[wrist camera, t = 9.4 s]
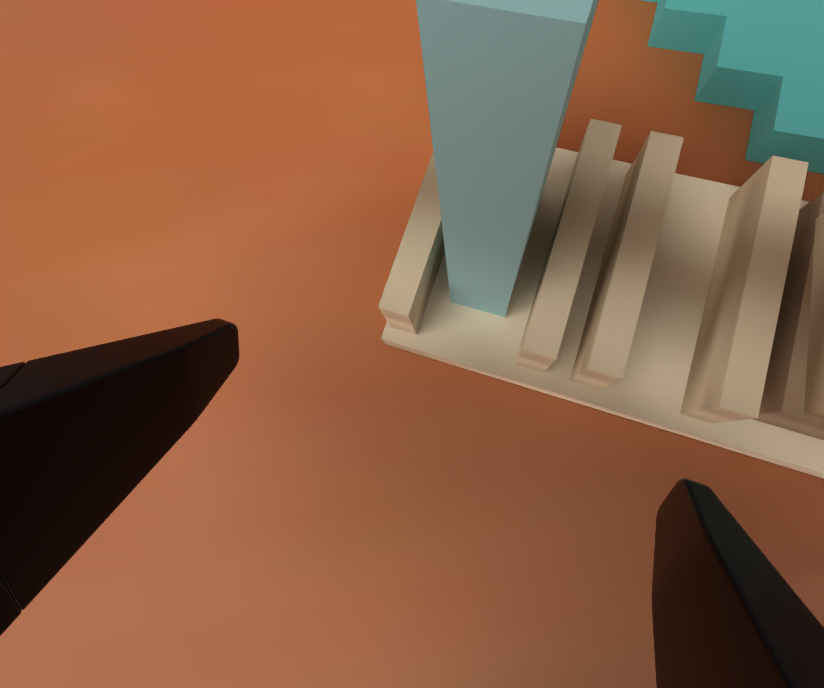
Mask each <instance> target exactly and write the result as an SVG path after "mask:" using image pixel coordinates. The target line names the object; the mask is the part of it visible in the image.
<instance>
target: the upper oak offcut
mask: <svg viewBox="0 0 824 688" xmlns="http://www.w3.org/2000/svg"><path fill="white" fill-rule="evenodd" d="M804 414H806V415H812V416H817V417H822V418H824V213H823V214H822V215H820V216H819V217H817V218H816V222H815V238H814V255H813V271H812V288H811V304H810V321H809V337H808V354H807V370H806V387H805V403H804Z"/></svg>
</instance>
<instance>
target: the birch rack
mask: <svg viewBox="0 0 824 688" xmlns="http://www.w3.org/2000/svg"><path fill="white" fill-rule="evenodd" d="M621 127H622V125H620V124H615V123H610V122H605V121H600V120H595V119H590V122H589V125H588V127H587V130H586V133H585V135H584V138H583V141H582V144H581V146H580V149H579V152H575V151H570V150H566V149H561V148H556V149H555V152H554V156H553V159H552V163H551V166H550V169H549V173H548V176H547V180H546V183H545V187H544V190H543V194H542V197H541V200H540V203H539V207H538V210H537V213H536V217H535V220H534V223H533V226H532V230H531V233H530V236H529V240H528V243H527V246H526V250H525V253H524V256H523V259H522V263H521V266H520V269H519V273H518V276H517V279H516V282H515V286H514V289H513V292H512V296H511V299H510V302H509V306H508V309H507V312H506V315H505V317H502V316H498V315H495V314H491V313H488V312H484V311H480V310H477V309H473V308H470V307H466V306H463V305H459V304H456V303H452V302H451V298H450V290H449V281H448V272H447V264H446V255H445V246H444V238H443V229H442V220H441V212H440V203H439V194H438V186H437V177H436V168H435V160H434V151H433V154H432V157H431V160H430V162H429V165H428V168H427V171H426V174H425V176H424V179H423V182H422V185H421V188H420V190H419V193H418V196H417V199H416V202H415V205H414V207H413V210H412V213H411V216H410V219H409V221H408V224H407V227H406V230H405V233H404V235H403V238H402V241H401V244H400V247H399V249H398V252H397V255H396V258H395V261H394V264H393V266H392V269H391V272H390V275H389V278H388V280H387V283H386V286H385V289H384V292H383V294H382V297H381V300H380V303H379V306H378V308H379V309H380V311H381V312H382V314H383V316H384V317H385V319H386V320H387V323H386V326H385V328H384V331H383V334H382V337H381V339H382V340H383V342H384V343H385V344H386V345H390V346H393V347H396V348H399V349H403V350H406V351H409V352H412V353H416V354H419V355H422V356H425V357H429V358H432V359H435V360H438V361H442V362H445V363H448V364H452V365H455V366H458V367H461V368H465V369H468V370H471V371H474V372H478V373H481V374H484V375H487V376H491V377H494V378H497V379H500V380H504V381H507V382H510V383H513V384H517V385H520V386H523V387H526V388H530V389H533V390H536V391H540V392H543V393H546V394H549V395H553V396H556V397H559V398H562V399H566V400H569V401H572V402H575V403H579V404H582V405H585V406H588V407H592V408H595V409H598V410H601V411H605V412H608V413H611V414H614V415H618V416H621V417H624V418H628V419H631V420H634V421H637V422H641V423H644V424H647V425H650V426H654V427H657V428H660V429H663V430H667V431H670V432H673V433H676V434H680V435H683V436H686V437H689V438H693V439H696V440H699V441H702V442H706V443H709V444H712V445H716V446H719V447H722V448H725V449H729V450H732V451H735V452H738V453H742V454H745V455H748V456H751V457H755V458H758V459H761V460H764V461H768V462H771V463H774V464H777V465H781V466H784V467H787V468H790V469H794V470H797V471H800V472H804V473H807V474H810V475H813V476H817V477H820V478H823V479H824V440H821V439H817V438H814V437H810V436H807V435H804V434H800V433H797V432H793V431H790V430H787V429H783V428H780V427H776V426H773V425H770V424H766V423H763V422H759V421H756V420H753V419H756V418H758V415H759V410H760V405H761V400H762V395H763V390H764V385H765V380H766V375H767V370H768V365H769V360H770V355H771V350H772V345H773V340H774V335H775V330H776V325H777V320H778V315H779V310H780V305H781V300H782V295H783V290H784V285H785V280H786V275H787V269H788V264H789V259H790V254H791V249H792V244H793V239H794V234H795V229H796V224H797V219H798V214H799V209H801V208H802V207H803V206H805V205H806V204H807V203H809V202H807V201H803V200H801V199H802V194H803V189H804V184H805V179H806V174H807V169H808V164H809V163H808V162H803V161H798V160H793V159H788V158H783V157H778V156H772V157H771V158H770V159H769V160H768V161H767V162H766V163H765V164H764V165H763V166H761V167H760V168H759V169H758V170H757V171H756V172H755V173H754V174H753V175H752V176H751V177H750V178H749V179H748V180H747V181H746V182H745V183H744V184H743V185H742V186H741V187H738V186H733V185H728V184H724V183H719V182H714V181H710V180H705V179H700V178H696V177H691V176H686V175H682V174H677V173H675V171H676V167H677V163H678V159H679V155H680V151H681V147H682V143H683V139H684V137H679V136H674V135H669V134H664V133H660V132H655V131H651V132H650V134H649V135H648V137H647V139H646V140H645V142H644V144H643V146H642V147H641V149H640V151H639V153H638V154H637V156H636V158H635V160H634V161H633V163H632V164H631V163H626V162H621V161H617V160H612V159H613V156H614V152H615V149H616V145H617V142H618V138H619V134H620V131H621Z"/></svg>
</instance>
